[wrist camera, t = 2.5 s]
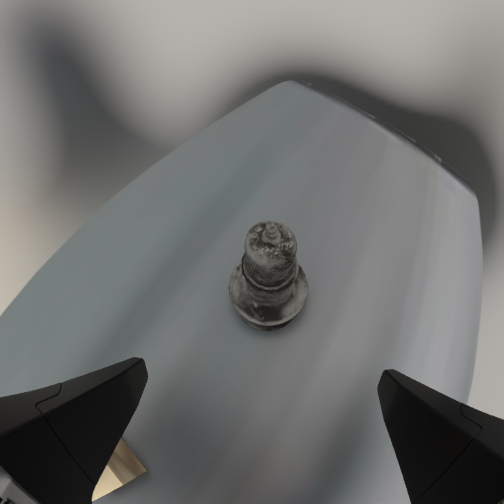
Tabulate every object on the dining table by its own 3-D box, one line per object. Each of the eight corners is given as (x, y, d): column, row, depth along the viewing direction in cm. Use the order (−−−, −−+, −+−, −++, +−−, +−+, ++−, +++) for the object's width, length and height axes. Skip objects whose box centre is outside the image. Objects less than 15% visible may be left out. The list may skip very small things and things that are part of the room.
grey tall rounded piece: (277, 257, 27) (286, 164, 16) (315, 310, 24) (355, 243, 14) (220, 290, 25) (190, 212, 15) (256, 347, 23) (251, 309, 12)
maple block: (147, 470, 18) (123, 485, 14) (111, 491, 17) (83, 505, 13) (113, 425, 20) (83, 429, 16) (79, 448, 19) (48, 453, 14)
